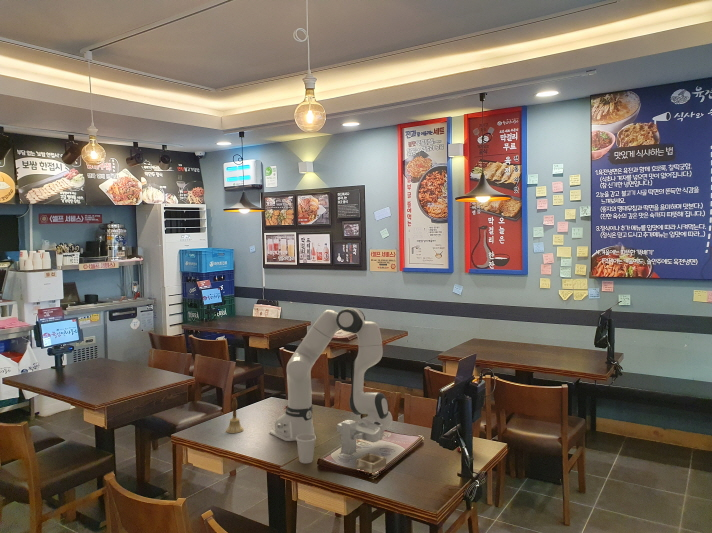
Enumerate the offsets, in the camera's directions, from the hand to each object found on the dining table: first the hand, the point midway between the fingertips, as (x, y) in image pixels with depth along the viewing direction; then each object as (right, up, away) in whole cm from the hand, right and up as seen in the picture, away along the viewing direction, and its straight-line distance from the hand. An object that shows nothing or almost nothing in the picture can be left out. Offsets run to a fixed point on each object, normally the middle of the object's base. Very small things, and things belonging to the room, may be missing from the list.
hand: (347, 436), depth 219 cm
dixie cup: (-17, -10, 0) cm, 20 cm away
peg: (0, -7, +1) cm, 7 cm away
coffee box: (+10, -9, +44) cm, 46 cm away
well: (+10, -10, -9) cm, 17 cm away
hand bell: (-56, -9, +36) cm, 67 cm away
